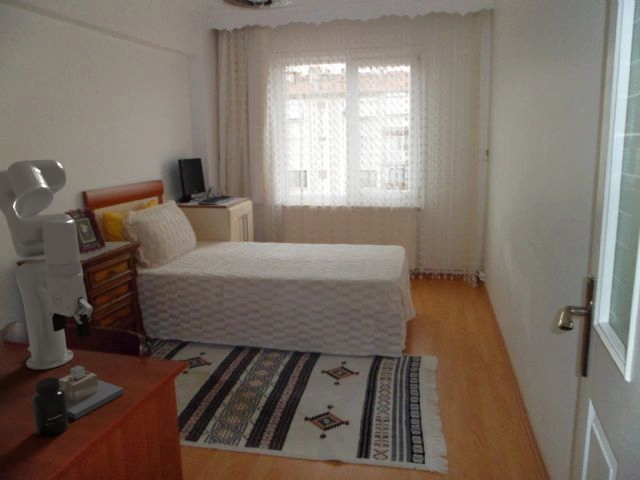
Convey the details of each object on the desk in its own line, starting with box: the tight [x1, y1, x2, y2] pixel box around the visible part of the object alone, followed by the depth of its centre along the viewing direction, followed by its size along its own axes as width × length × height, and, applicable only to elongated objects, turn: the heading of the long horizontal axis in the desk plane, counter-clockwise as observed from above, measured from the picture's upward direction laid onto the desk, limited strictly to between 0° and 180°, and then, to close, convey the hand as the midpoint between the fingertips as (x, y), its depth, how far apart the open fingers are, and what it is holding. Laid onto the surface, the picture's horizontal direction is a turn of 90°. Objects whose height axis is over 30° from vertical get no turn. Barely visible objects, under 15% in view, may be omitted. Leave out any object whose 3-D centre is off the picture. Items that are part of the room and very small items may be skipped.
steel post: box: [69, 365, 86, 381], centre depth 127 cm, size 2×2×7 cm
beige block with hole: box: [58, 370, 99, 402], centre depth 127 cm, size 6×6×5 cm
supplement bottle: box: [31, 377, 70, 438], centre depth 113 cm, size 7×7×12 cm
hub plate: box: [66, 379, 125, 420], centre depth 127 cm, size 16×14×2 cm
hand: (72, 333), depth 124 cm, fingers open, 9 cm apart
